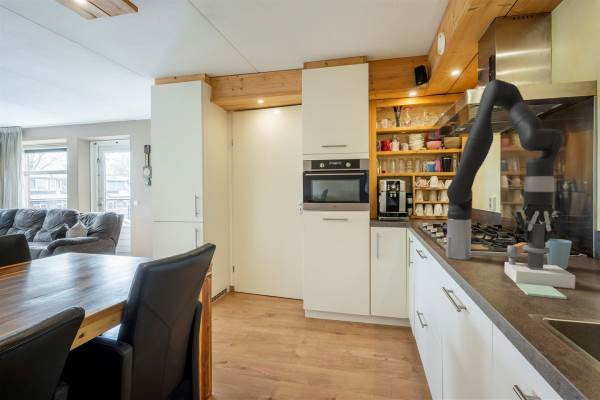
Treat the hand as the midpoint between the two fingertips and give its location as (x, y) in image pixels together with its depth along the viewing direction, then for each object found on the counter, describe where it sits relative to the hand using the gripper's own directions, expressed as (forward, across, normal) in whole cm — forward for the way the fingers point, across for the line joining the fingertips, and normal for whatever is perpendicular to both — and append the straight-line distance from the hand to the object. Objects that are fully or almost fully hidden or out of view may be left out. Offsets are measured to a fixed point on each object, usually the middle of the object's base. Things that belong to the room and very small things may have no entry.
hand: (536, 241), depth 96 cm
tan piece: (+6, -1, +9) cm, 11 cm away
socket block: (+13, +1, 0) cm, 13 cm away
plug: (+8, 0, 0) cm, 8 cm away
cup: (+13, +17, +18) cm, 28 cm away
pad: (+13, -5, -12) cm, 18 cm away
